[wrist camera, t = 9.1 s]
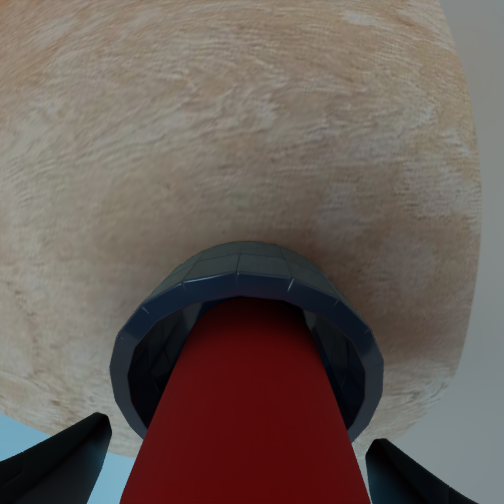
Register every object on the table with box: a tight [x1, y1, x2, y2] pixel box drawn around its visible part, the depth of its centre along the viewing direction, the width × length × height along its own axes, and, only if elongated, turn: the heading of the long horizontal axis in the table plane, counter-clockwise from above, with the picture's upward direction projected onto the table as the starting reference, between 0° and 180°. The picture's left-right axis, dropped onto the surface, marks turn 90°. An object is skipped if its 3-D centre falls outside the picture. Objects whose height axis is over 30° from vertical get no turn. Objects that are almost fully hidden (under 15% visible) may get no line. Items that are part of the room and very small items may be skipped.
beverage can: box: [120, 297, 371, 504], centre depth 9 cm, size 6×6×12 cm
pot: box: [109, 241, 384, 443], centre depth 12 cm, size 11×11×6 cm
